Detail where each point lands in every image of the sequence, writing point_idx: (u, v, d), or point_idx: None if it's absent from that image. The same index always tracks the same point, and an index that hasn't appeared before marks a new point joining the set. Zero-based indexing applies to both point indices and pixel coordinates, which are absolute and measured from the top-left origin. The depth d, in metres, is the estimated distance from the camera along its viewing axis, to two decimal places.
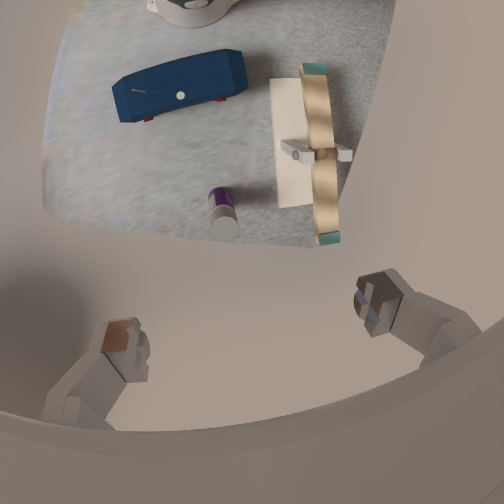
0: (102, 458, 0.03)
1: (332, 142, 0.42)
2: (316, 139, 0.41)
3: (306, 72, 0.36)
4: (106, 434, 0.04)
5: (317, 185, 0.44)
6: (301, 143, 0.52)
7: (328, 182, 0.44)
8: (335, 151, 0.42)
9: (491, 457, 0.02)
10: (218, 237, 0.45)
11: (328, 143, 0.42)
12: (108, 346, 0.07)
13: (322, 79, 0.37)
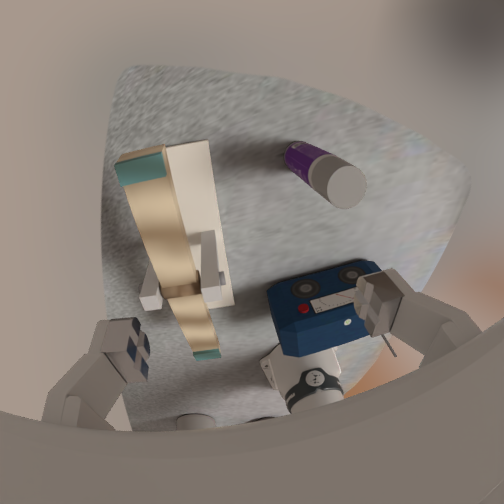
0: (102, 458, 0.03)
1: (172, 303, 0.31)
2: (196, 303, 0.32)
3: (217, 352, 0.39)
4: (106, 434, 0.04)
5: (185, 253, 0.27)
6: None
7: (165, 259, 0.27)
8: (166, 297, 0.30)
9: (491, 457, 0.02)
10: (359, 173, 0.24)
11: (177, 301, 0.31)
12: (108, 346, 0.07)
13: (197, 348, 0.39)
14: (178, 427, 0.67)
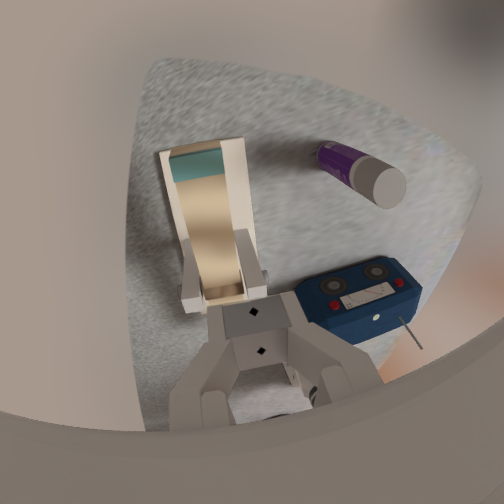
0: (102, 458, 0.03)
1: (212, 304, 0.31)
2: None
3: None
4: (106, 434, 0.04)
5: (233, 253, 0.26)
6: None
7: (212, 259, 0.26)
8: (207, 298, 0.30)
9: (491, 457, 0.02)
10: (401, 175, 0.24)
11: (218, 302, 0.31)
12: (234, 331, 0.08)
13: None
14: None
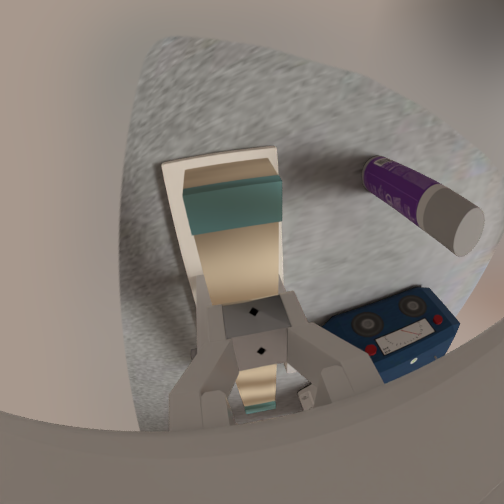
0: (102, 458, 0.03)
1: None
2: (268, 368, 0.23)
3: (273, 405, 0.31)
4: (106, 434, 0.04)
5: None
6: None
7: None
8: None
9: (491, 457, 0.02)
10: (482, 216, 0.16)
11: None
12: (234, 330, 0.08)
13: (250, 403, 0.30)
14: None
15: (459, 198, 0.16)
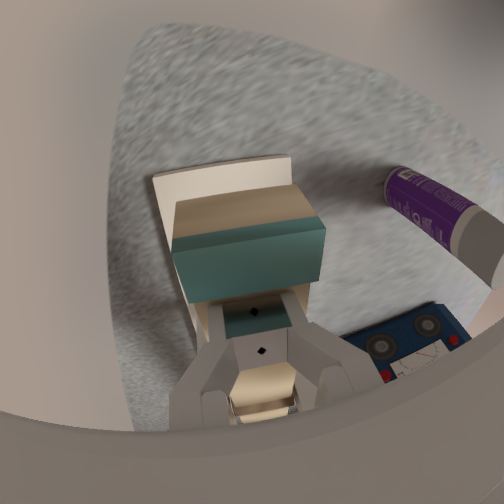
0: (102, 458, 0.03)
1: (243, 415, 0.19)
2: (279, 411, 0.19)
3: None
4: (106, 434, 0.04)
5: (291, 375, 0.14)
6: None
7: (254, 385, 0.14)
8: (239, 415, 0.17)
9: (491, 457, 0.02)
10: None
11: (253, 413, 0.19)
12: (235, 330, 0.08)
13: None
14: None
15: (499, 225, 0.13)
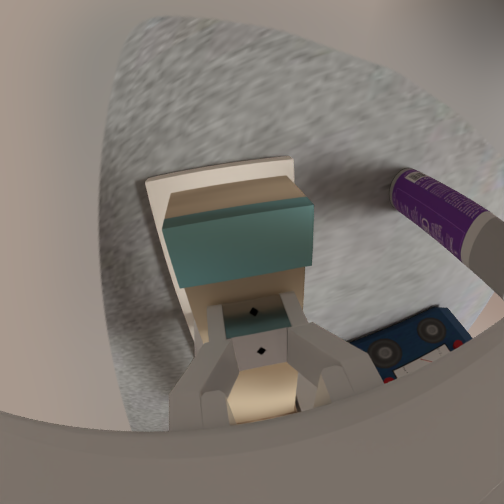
0: (102, 458, 0.03)
1: None
2: None
3: None
4: (106, 434, 0.04)
5: (292, 385, 0.14)
6: None
7: (254, 396, 0.14)
8: None
9: (491, 457, 0.02)
10: None
11: None
12: (234, 330, 0.08)
13: None
14: None
15: None
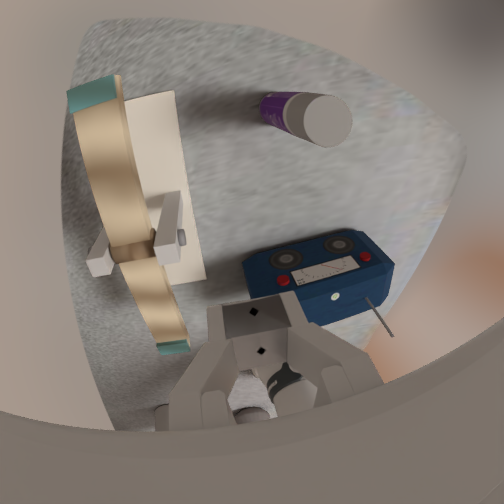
0: (102, 458, 0.03)
1: (124, 270, 0.25)
2: (152, 270, 0.26)
3: (184, 344, 0.32)
4: (106, 434, 0.04)
5: (135, 197, 0.21)
6: (148, 203, 0.34)
7: (113, 206, 0.21)
8: (116, 260, 0.24)
9: (491, 457, 0.02)
10: (343, 105, 0.18)
11: (130, 267, 0.25)
12: (234, 330, 0.08)
13: (160, 338, 0.32)
14: (156, 418, 0.62)
15: (315, 94, 0.19)
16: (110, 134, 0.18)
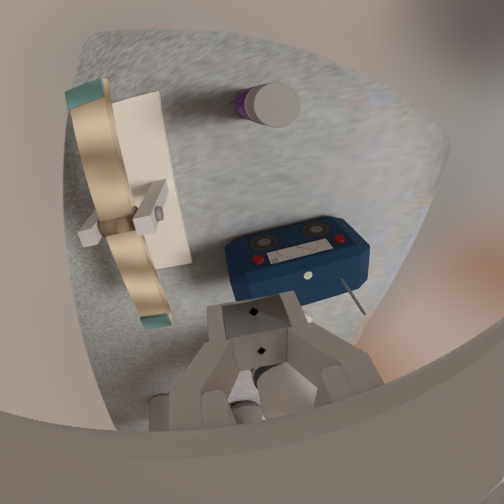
0: (102, 458, 0.03)
1: (110, 242, 0.28)
2: (134, 242, 0.29)
3: (165, 317, 0.35)
4: (106, 434, 0.04)
5: (118, 177, 0.25)
6: (138, 190, 0.37)
7: (101, 185, 0.25)
8: (103, 233, 0.27)
9: (491, 457, 0.02)
10: (290, 90, 0.21)
11: (115, 240, 0.28)
12: (234, 331, 0.08)
13: (144, 312, 0.35)
14: (150, 408, 0.65)
15: None
16: (99, 125, 0.21)
